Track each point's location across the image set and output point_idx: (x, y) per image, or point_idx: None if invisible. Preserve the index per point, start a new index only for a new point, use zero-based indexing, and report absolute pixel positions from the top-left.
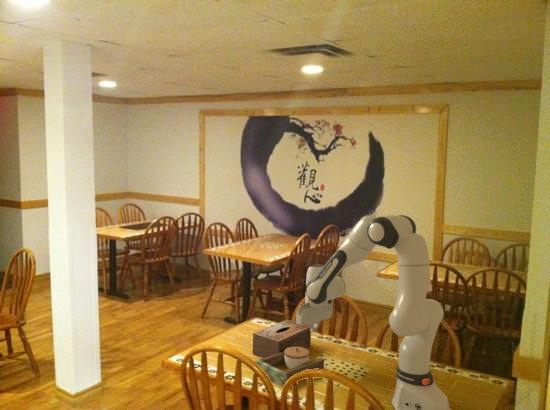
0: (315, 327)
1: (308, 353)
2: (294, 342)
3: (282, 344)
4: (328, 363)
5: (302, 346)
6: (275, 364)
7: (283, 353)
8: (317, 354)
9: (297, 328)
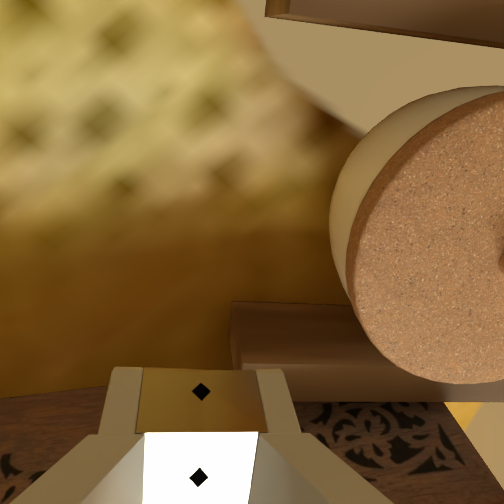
0: (164, 455)
1: (493, 109)
2: None
3: (411, 466)
4: (80, 34)
5: (51, 417)
6: None
7: None
8: (6, 257)
9: None
